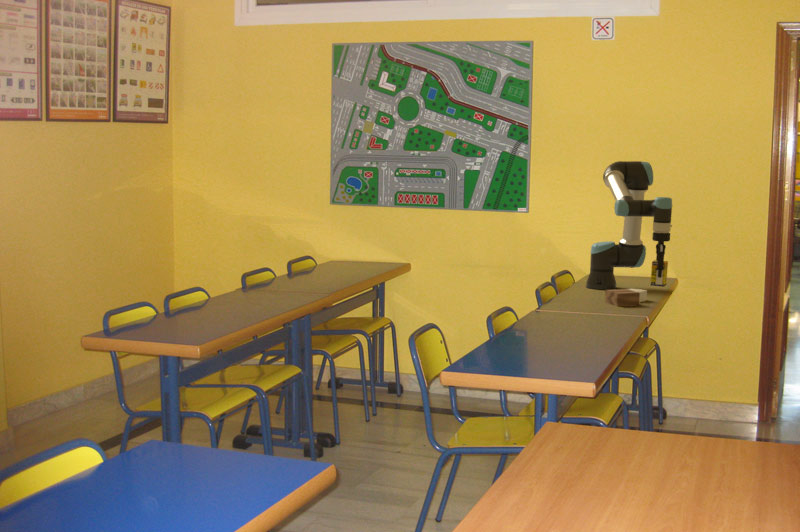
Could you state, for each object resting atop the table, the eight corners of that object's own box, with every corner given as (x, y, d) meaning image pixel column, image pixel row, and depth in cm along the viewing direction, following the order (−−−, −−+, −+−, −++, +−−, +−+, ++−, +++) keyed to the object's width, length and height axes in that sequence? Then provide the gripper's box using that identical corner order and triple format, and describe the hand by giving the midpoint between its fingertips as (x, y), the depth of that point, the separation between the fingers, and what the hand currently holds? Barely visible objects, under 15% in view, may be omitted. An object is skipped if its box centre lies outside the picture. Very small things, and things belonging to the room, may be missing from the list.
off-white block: (622, 300, 402) (623, 290, 402) (630, 298, 408) (630, 288, 408) (639, 302, 397) (639, 292, 397) (646, 300, 403) (647, 290, 403)
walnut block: (605, 302, 397) (605, 289, 396) (626, 302, 399) (627, 289, 399) (616, 306, 386) (617, 293, 385) (638, 306, 389) (639, 292, 388)
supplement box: (650, 285, 386) (651, 261, 385) (653, 283, 391) (654, 259, 390) (664, 286, 384) (665, 262, 382) (666, 285, 389) (668, 260, 387)
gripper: (671, 234, 374) (668, 287, 377) (668, 230, 393) (666, 280, 396) (653, 233, 375) (650, 286, 379) (651, 229, 394) (649, 279, 398)
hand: (658, 282), depth 387 cm, fingers closed on supplement box, 7 cm apart
